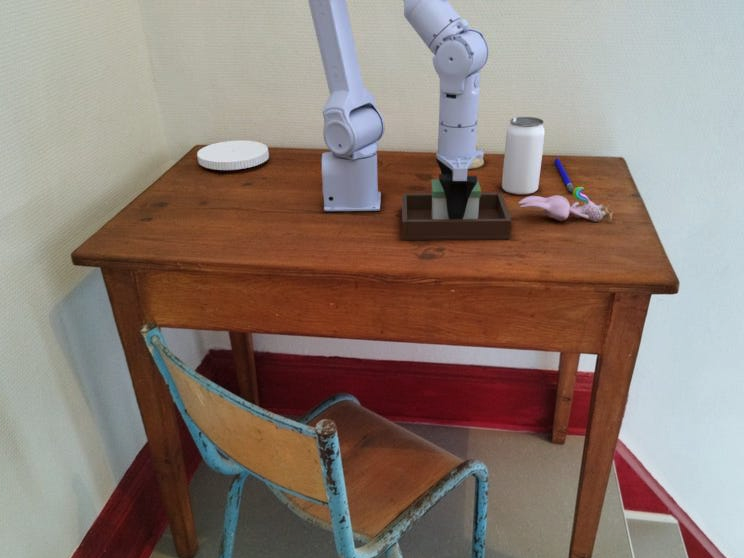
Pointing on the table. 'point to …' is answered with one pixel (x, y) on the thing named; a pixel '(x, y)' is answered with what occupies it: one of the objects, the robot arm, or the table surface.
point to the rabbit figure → (567, 206)
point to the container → (441, 207)
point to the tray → (455, 220)
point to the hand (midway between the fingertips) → (453, 209)
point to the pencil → (564, 175)
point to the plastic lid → (233, 155)
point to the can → (523, 155)
